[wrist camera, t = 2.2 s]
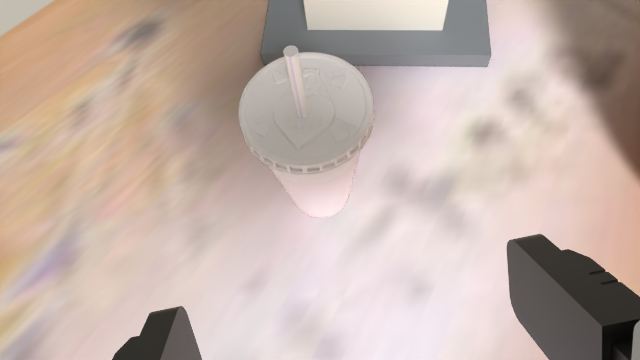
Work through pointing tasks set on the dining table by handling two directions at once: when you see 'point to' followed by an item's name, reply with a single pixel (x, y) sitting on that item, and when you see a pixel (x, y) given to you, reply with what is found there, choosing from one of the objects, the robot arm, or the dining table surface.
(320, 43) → the socket board
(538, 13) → the dining table surface
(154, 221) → the dining table surface
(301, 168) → the smoothie
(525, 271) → the robot arm
